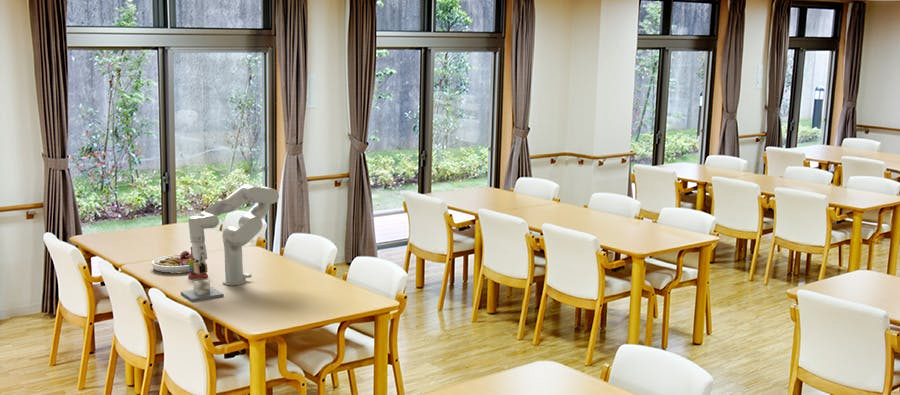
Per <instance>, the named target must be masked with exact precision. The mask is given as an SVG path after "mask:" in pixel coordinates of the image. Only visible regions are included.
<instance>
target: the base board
mask: <svg viewBox="0 0 900 395" xmlns="http://www.w3.org/2000/svg"><path fill="white" fill-rule="evenodd" d="M180 295H181V296H183V297H184V298H186V299H187V298H188V299H187V300H188V301H190V302H192V303H193V302H194V303H195V302H198V301H199V302H200V301H206V300H211V299H212V300H213V299H217V298H223V297H224V295H225V294H224V293H223V292H221V291H220V290H218V289H216V288H214V287H213V286H210V293H208V294H202V295H197V294H196V293H194V289H190V290H189V289H188V290H183V291H180Z"/></svg>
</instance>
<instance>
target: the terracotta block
mask: <svg viewBox="0 0 900 395" xmlns="http://www.w3.org/2000/svg"><path fill="white" fill-rule="evenodd" d="M193 265H194V272H195V273H196V274H202V273H200V269H199V266H200V264H199V262H197V263H193ZM205 268H206V272H204V273H207V274H208V271H209V270H208V263H207V262H206V263H205Z"/></svg>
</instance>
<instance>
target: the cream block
mask: <svg viewBox="0 0 900 395" xmlns="http://www.w3.org/2000/svg"><path fill="white" fill-rule="evenodd" d="M210 287H211V283H210V281H209V280H207V279H200V280H193V290H194V293H196V294H197V295H202V294H208V293H210Z"/></svg>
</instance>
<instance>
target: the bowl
mask: <svg viewBox="0 0 900 395" xmlns="http://www.w3.org/2000/svg"><path fill="white" fill-rule="evenodd" d="M191 257H192V254H191V253H190V252H189V251H188V250H184V251H182V252H181V253H180V254H173V255H166V256H161V257H157V258H155V259H154V260H152V261H151V263H152V268H153V269H154V270H155V271H156V272H159V271H161V272H160V273H162V272H173V273H172V274H178V273H177V272H187V273H189V272H188V271H190V269H189V263H190V258H191Z"/></svg>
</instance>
